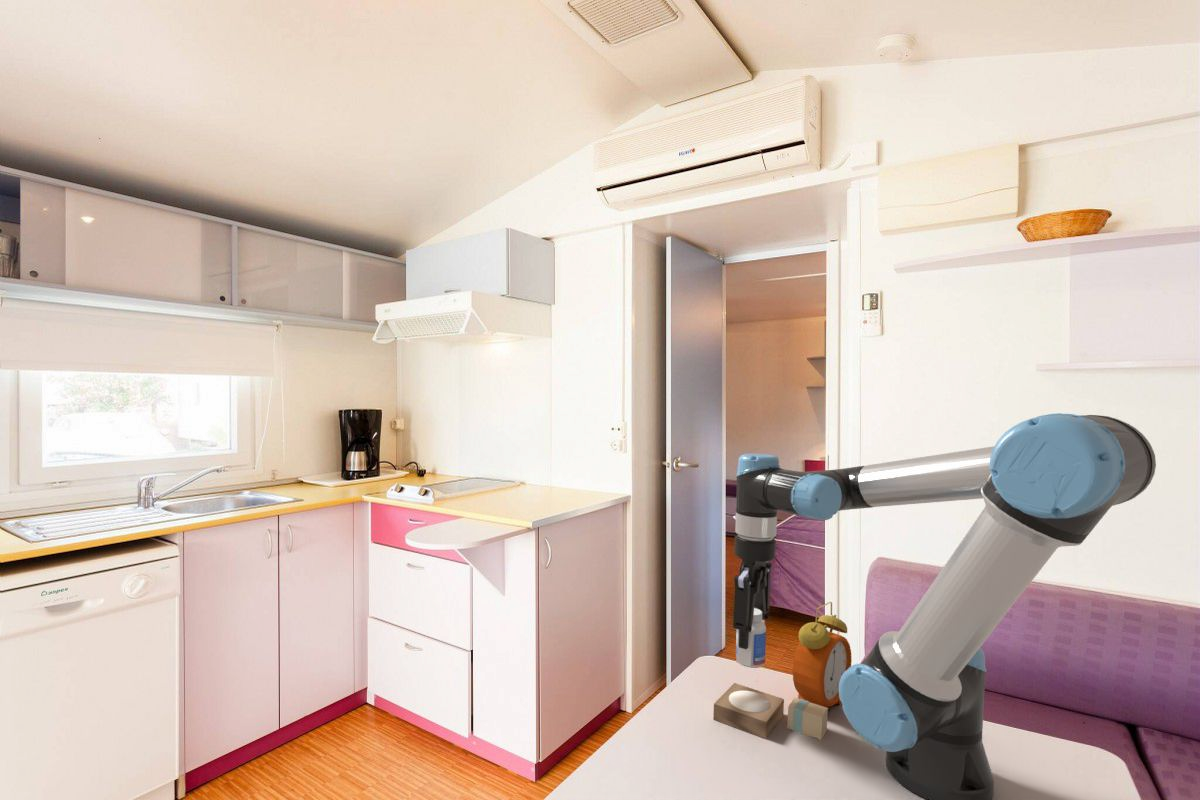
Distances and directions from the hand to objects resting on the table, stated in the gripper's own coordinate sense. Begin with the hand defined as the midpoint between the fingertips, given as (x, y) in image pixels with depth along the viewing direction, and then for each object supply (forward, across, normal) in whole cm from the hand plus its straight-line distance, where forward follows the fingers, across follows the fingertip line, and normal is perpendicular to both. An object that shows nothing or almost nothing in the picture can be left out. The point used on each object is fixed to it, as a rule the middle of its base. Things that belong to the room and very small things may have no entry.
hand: (750, 657), depth 112 cm
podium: (+11, 0, 0) cm, 11 cm away
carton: (+11, -3, +10) cm, 15 cm away
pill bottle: (+1, 0, 0) cm, 1 cm away
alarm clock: (+12, -13, +10) cm, 20 cm away
